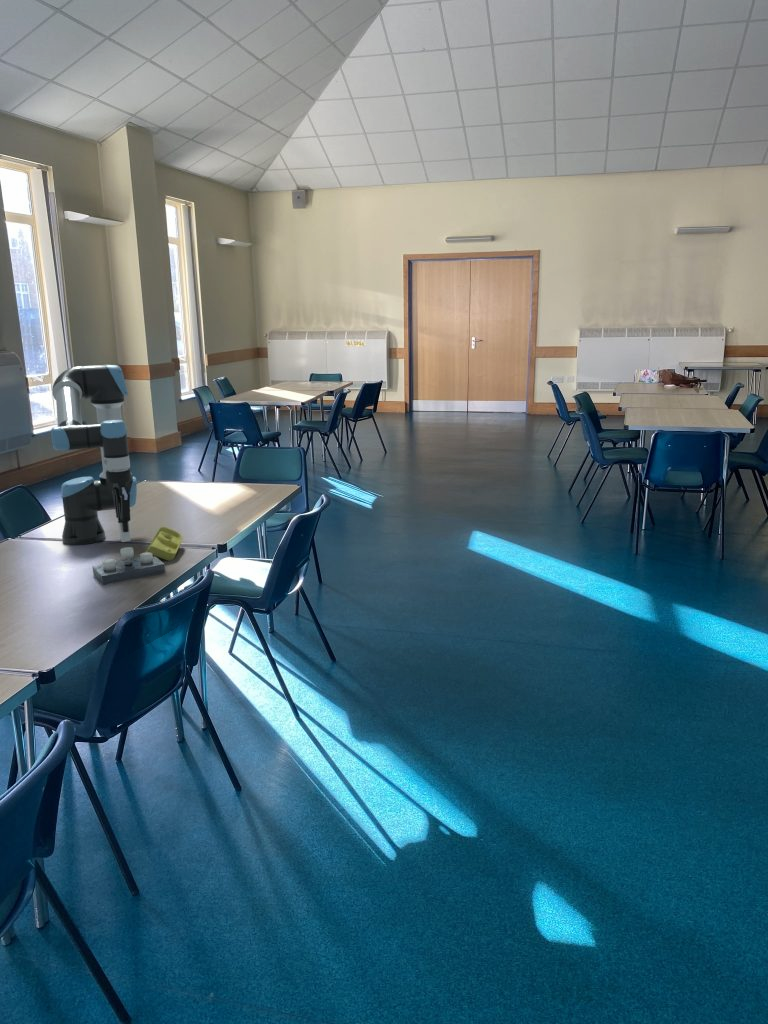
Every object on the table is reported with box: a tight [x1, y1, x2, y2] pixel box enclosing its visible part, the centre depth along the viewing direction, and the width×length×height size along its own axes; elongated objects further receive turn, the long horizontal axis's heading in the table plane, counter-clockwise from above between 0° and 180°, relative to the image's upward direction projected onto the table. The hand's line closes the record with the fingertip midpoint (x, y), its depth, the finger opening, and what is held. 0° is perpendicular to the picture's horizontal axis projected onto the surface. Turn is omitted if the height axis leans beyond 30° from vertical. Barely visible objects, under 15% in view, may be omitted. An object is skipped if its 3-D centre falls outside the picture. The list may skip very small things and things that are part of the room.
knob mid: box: [119, 546, 135, 565], centre depth 246 cm, size 4×4×5 cm
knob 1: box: [101, 558, 117, 571], centre depth 243 cm, size 4×4×5 cm
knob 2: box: [139, 551, 153, 563], centre depth 250 cm, size 4×4×5 cm
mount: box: [92, 555, 166, 586], centre depth 247 cm, size 12×20×3 cm, turn 124°
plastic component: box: [145, 526, 183, 562], centre depth 268 cm, size 20×7×10 cm
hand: (125, 540), depth 244 cm, fingers closed
